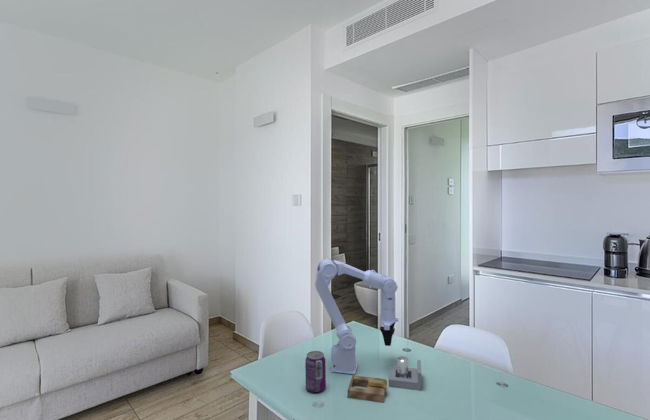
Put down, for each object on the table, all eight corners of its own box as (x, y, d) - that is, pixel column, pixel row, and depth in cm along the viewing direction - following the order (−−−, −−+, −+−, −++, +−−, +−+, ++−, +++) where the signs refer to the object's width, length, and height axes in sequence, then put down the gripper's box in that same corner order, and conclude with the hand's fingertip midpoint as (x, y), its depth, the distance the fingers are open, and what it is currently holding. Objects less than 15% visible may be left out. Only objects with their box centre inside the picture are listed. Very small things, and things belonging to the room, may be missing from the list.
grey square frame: (388, 386, 118) (388, 369, 118) (390, 372, 128) (390, 356, 127) (421, 390, 115) (421, 373, 115) (420, 375, 125) (420, 360, 125)
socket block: (347, 397, 111) (347, 390, 111) (352, 381, 121) (352, 375, 121) (383, 402, 108) (383, 394, 108) (385, 386, 118) (385, 379, 118)
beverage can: (328, 384, 120) (328, 351, 119) (321, 395, 113) (321, 360, 113) (310, 381, 122) (309, 349, 122) (302, 391, 115) (302, 357, 115)
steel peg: (397, 383, 120) (397, 361, 120) (396, 377, 124) (396, 356, 124) (409, 383, 119) (409, 361, 119) (407, 378, 123) (407, 356, 123)
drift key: (368, 386, 113) (367, 382, 113) (369, 381, 116) (369, 378, 116) (386, 388, 112) (386, 384, 112) (387, 383, 115) (387, 380, 115)
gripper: (397, 314, 124) (398, 350, 124) (399, 302, 138) (399, 335, 138) (378, 312, 126) (379, 348, 126) (381, 301, 140) (382, 333, 140)
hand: (388, 341), depth 132 cm, fingers open, 7 cm apart
